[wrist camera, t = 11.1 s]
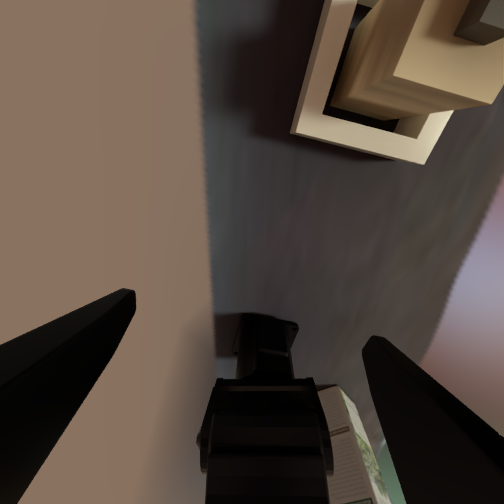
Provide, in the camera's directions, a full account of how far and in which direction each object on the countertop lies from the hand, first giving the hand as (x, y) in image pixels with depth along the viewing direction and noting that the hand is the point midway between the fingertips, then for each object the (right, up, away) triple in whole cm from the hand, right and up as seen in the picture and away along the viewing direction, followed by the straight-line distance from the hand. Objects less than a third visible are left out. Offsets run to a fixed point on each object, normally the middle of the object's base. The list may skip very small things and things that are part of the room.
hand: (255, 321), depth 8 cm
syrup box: (+11, -18, +23) cm, 31 cm away
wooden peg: (+8, +14, +6) cm, 17 cm away
